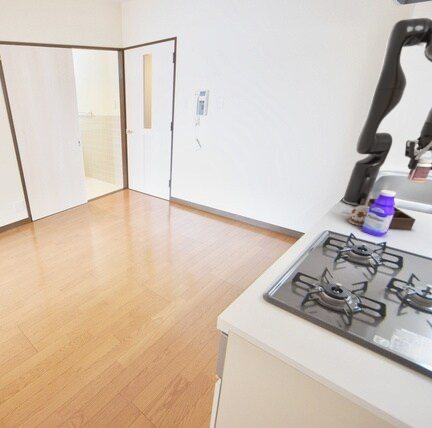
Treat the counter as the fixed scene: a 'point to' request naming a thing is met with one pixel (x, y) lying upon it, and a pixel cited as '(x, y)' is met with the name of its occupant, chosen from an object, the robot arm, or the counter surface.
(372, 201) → the organiser
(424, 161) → the pill bottle
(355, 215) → the decorative ornament
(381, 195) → the bottle
